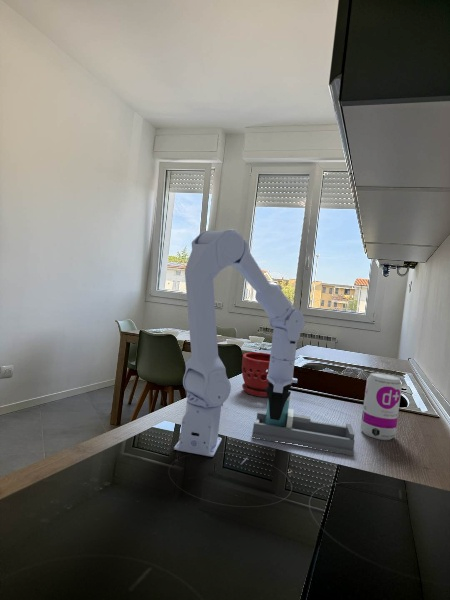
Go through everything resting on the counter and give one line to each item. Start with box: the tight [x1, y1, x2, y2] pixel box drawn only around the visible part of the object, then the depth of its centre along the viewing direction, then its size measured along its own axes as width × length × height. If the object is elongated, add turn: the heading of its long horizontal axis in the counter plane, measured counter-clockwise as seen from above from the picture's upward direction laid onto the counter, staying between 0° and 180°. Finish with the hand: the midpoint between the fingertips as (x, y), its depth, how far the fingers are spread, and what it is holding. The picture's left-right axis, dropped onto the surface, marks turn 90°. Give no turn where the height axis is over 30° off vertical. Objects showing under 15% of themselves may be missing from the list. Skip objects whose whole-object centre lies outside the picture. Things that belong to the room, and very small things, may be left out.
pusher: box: [286, 408, 312, 428], centre depth 97 cm, size 6×5×4 cm
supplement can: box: [360, 372, 403, 441], centre depth 106 cm, size 8×8×15 cm
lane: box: [251, 411, 355, 457], centre depth 97 cm, size 11×22×4 cm, turn 80°
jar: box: [265, 395, 291, 427], centre depth 98 cm, size 5×5×7 cm
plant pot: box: [241, 351, 271, 398], centre depth 133 cm, size 13×13×12 cm
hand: (275, 415), depth 98 cm, fingers closed on jar, 5 cm apart
